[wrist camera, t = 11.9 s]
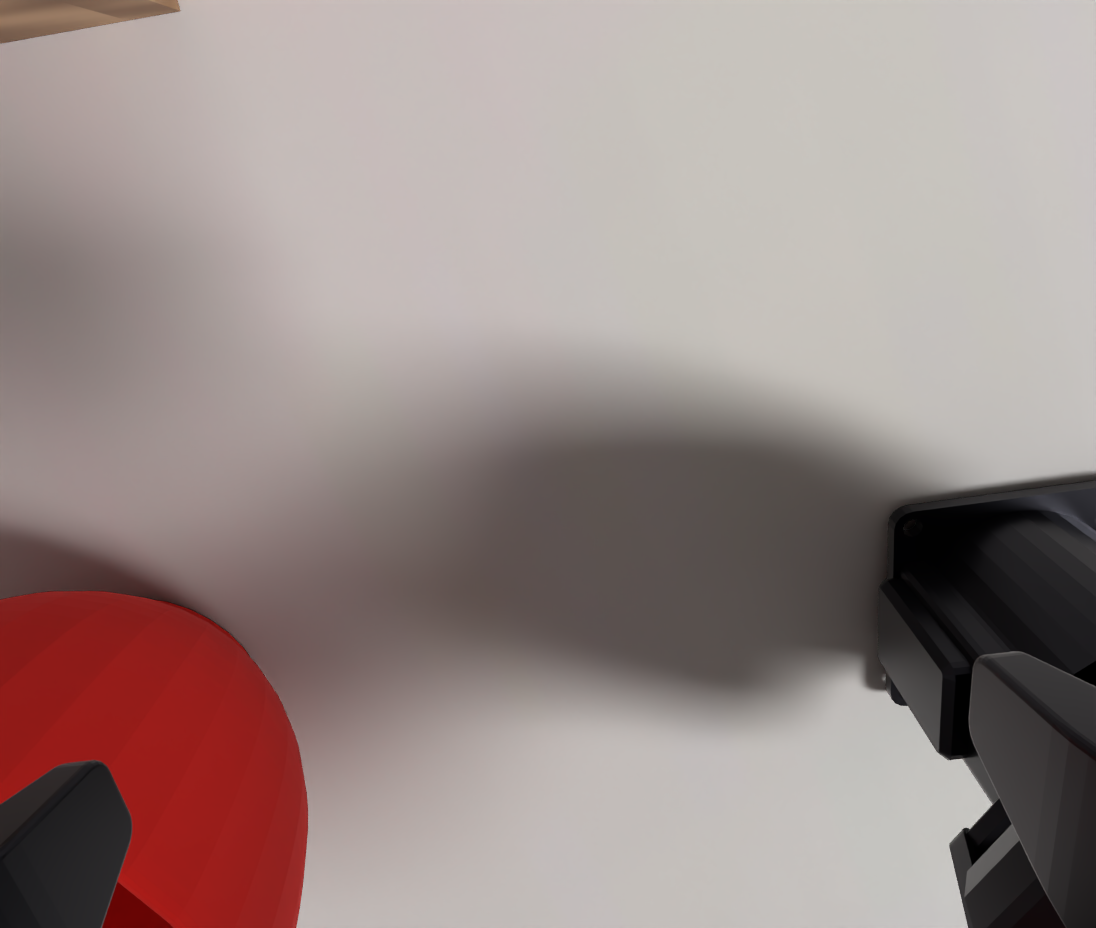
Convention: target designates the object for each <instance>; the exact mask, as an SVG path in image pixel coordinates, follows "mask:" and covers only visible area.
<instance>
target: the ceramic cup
mask: <svg viewBox="0 0 1096 928" xmlns="http://www.w3.org/2000/svg"><path fill="white" fill-rule="evenodd" d="M87 760H98V761H101V762H103V763H104V764H105V765H107V767H108V768H109V770H110V772H111V774H112V776H113V778H114V780H115V782H116V784H117V786H118V789H119V791H120V793H121V795H122V797H123V799H124V801H125V803H126V806H127V808H128V810H129V812H130V815H131V818H132V837H131V841H130V845H129V848H128V851H127V854H126V857H125V860H124V863H123V866H122V869H121V872H120V875H119V878H118V881H117V884H116V887H115V890H114V893H113V896H112V899H111V902H110V905H109V908H108V911H107V914H106V917H105V920H104V923H103V926H102V928H296V925H297V920H298V914H299V909H300V902H301V895H302V887H303V878H304V867H305V857H306V845H307V833H308V805H307V792H306V787H305V781H304V775H303V769H302V763H301V757H300V752H299V746H298V743H297V740H296V737H295V734H294V731H293V729H292V727H291V724H290V722H289V719H288V717H287V714H286V712H285V710H284V707H283V705H282V703H281V701H280V699H279V697H278V695H277V693H276V692H275V691H274V689H273V688H272V686H271V685H270V683H269V682H268V680H267V679H266V677H265V676H264V674H263V673H262V671H261V670H260V669H259V667H258V666H257V664H256V663H255V662H254V661H253V660H252V659H251V658H250V656H249V655H248V654H247V652H246V651H245V649H244V648H243V647H242V646H241V645H240V644H239V643H238V642H237V641H236V640H235V639H234V638H233V637H232V636H231V635H230V634H229V633H228V632H227V631H225V630H224V629H223V628H221V627H220V626H218V625H217V624H216V623H214V622H213V621H211V620H210V619H208V618H206V617H204V616H202V615H200V614H198V613H196V612H194V611H192V610H190V609H188V608H185V607H182V606H179V605H175V604H172V603H169V602H165V601H159V600H153V599H148V598H144V597H137V596H131V595H125V594H118V593H112V592H104V591H50V592H41V593H33V594H27V595H22V596H16V597H11V598H5V599H0V804H1V803H3V802H4V801H6V800H7V799H9V798H10V797H12V796H13V795H15V794H16V793H17V792H19V791H20V790H22V789H23V788H25V787H26V786H28V785H29V784H31V783H32V782H34V781H35V780H37V779H38V778H40V777H41V776H42V775H44V774H45V773H47V772H48V771H50V770H51V769H53V768H54V767H56V766H58V765H61V764H65V763H70V762H79V761H87Z"/></svg>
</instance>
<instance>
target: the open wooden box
mask: <svg viewBox="0 0 1096 928" xmlns="http://www.w3.org/2000/svg"><path fill="white" fill-rule="evenodd" d="M178 11H180V8H179V4H178V1H177V0H0V43H6V42H11V41H17V40H22V39H28V38H33V37H39V36H45V35H50V34H56V33H61V32H67V31H72V30H78V29H83V28H89V27H95V26H100V25H106V24H111V23H117V22H122V21H128V20H133V19H139V18H145V17H150V16H156V15H161V14H167V13H172V12H178Z"/></svg>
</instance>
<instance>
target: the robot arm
mask: <svg viewBox="0 0 1096 928" xmlns="http://www.w3.org/2000/svg"><path fill="white" fill-rule="evenodd" d="M911 520H916V523H915V525H914V526H913V527H912V528H910V529H907V530H904V529H903V528H904V525H905V524H906V523H907V522H908V521H911ZM878 658H879V660H880V662H881V664H882V665H883V667H884V668H885V670H886V680H885V686H886V690H887V692H888V694H889V695H890V697H891V699H892V700H893V701H894V702H895V703H896V704H899V705H901V706H908V707H909V708H910V710H911V711H912V713H913V714H914V716H915V718H916V719H917V721H918V722H919V724H920V726H921V727H922V729H923V730H924V732H925V734H926V735H927V737H928V738H929V740H930V742H931V743H932V745H933V746H934V748H935V749H936V751H937V752H938V753H939V754H940V755H942V756H943V757H944V758H946V759H947V760H953V759H963V760H964V762H965V763H966V765H967V766H968V768H969V769H970V771H971V772H972V774H973V775H974V777H975V778H976V780H977V781H978V783H979V785H980V786H981V788H982V789H983V791H984V792H985V794H986V795H987V797H988V798H989V800H990V801H991V803H992V804H993V805H992V806H991V807H990V808H989V809H988V810H987V811H986V812H985V813H984V814H983V816H982V817H981V818H980V819H979V820H978V821H977V822H976V823H975V824H974V825H973V826H972V827H971V829H968V828H964V829H963V830H962V831H961V832H960V833H959V834H958V835H957V836H956V837H955V838H954V839H953V841H952V842H951V843H950V846H949V847H950V851H951V855H952V859H953V864H954V868H955V872H956V877H957V881H958V885H959V890H960V894H961V898H962V902H963V907H964V911H965V915H966V920H967V924H968V928H1096V480H1095V481H1087V482H1079V483H1072V484H1064V485H1057V486H1049V487H1041V488H1034V489H1026V490H1018V491H1011V492H1003V493H996V494H988V495H980V496H973V497H965V498H957V499H950V500H942V501H935V502H927V503H919V504H912V505H906V506H903V507H900V508H898V509H897V510H895V511H894V512H893V513H892V515H891V516H890V518H889V522H888V563H887V579H885V580H884V581H883V582H882V584H881V585H880V587H879V590H878ZM131 837H132V818H131V815H130V812H129V810H128V808H127V806H126V803H125V801H124V799H123V797H122V795H121V793H120V791H119V789H118V786H117V784H116V782H115V780H114V778H113V776H112V774H111V772H110V770H109V768H108V767H107V765H105V764H104V763H103V762H101V761H98V760H87V761H79V762H70V763H65V764H61V765H58V766H56V767H54V768H53V769H51V770H50V771H48V772H47V773H45V774H44V775H42V776H41V777H40V778H38V779H37V780H35V781H34V782H32V783H31V784H29V785H28V786H26V787H25V788H23V789H22V790H20V791H19V792H17V793H16V794H15V795H13V796H12V797H10V798H9V799H7V800H6V801H4V802H3V803H1V804H0V928H102V926H103V923H104V920H105V917H106V914H107V911H108V908H109V905H110V902H111V899H112V896H113V893H114V890H115V887H116V884H117V881H118V878H119V875H120V872H121V869H122V866H123V863H124V860H125V857H126V854H127V851H128V848H129V845H130V841H131Z"/></svg>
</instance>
